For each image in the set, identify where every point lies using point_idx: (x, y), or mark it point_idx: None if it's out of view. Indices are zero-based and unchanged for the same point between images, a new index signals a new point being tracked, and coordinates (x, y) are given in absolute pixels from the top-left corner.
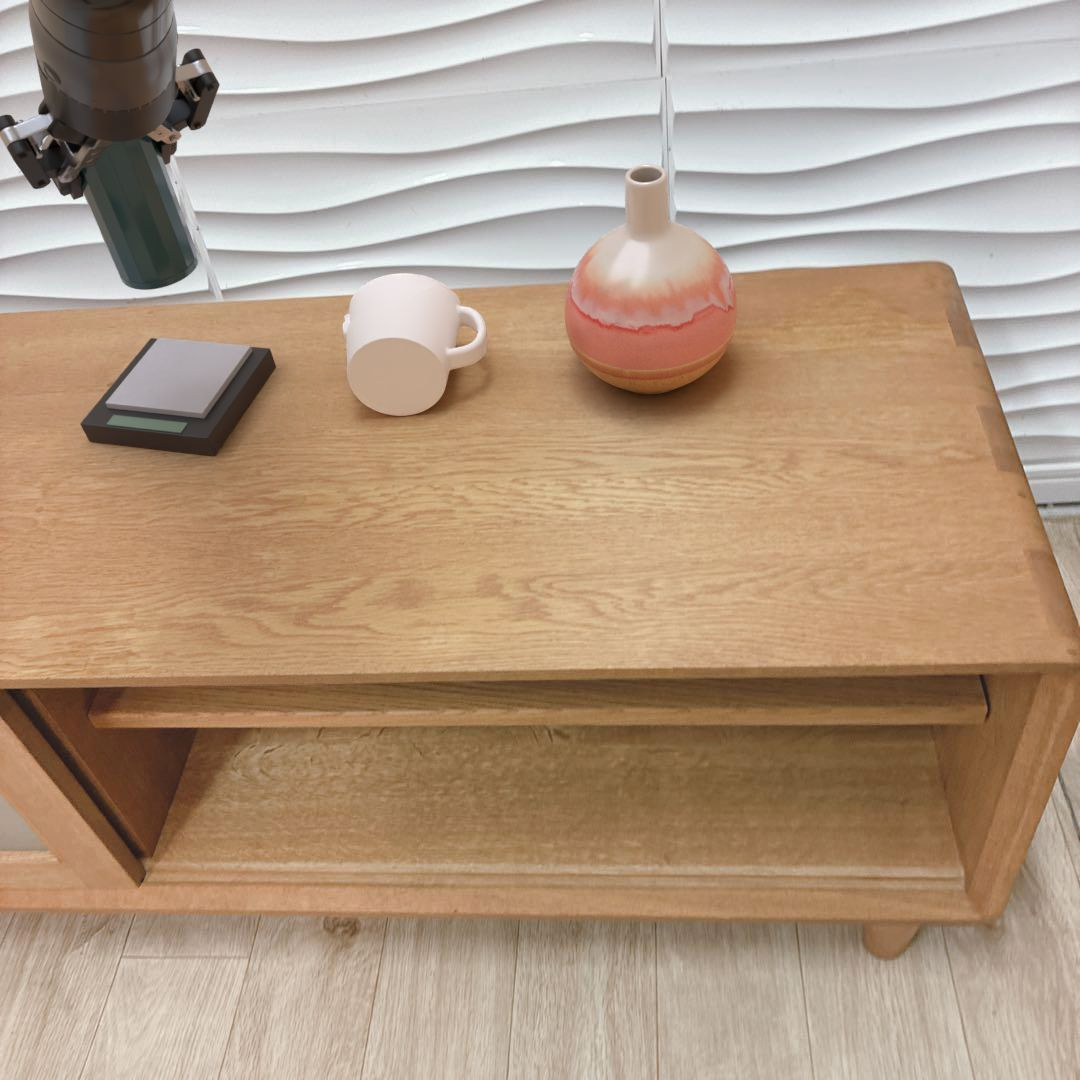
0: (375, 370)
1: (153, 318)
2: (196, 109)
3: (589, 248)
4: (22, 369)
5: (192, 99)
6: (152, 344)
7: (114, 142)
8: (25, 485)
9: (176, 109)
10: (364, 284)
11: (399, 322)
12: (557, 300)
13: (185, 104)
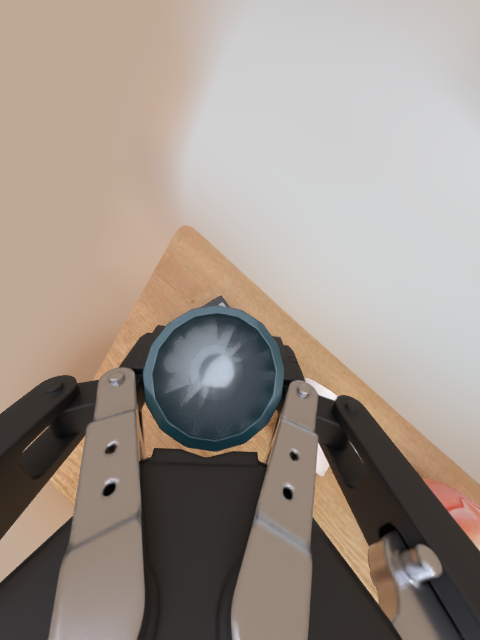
0: None
1: (233, 270)
2: (353, 512)
3: (462, 528)
4: (168, 257)
5: (366, 517)
6: (218, 300)
7: (202, 448)
8: (123, 341)
9: (325, 431)
10: (324, 387)
11: (321, 455)
12: (391, 417)
13: (343, 438)
